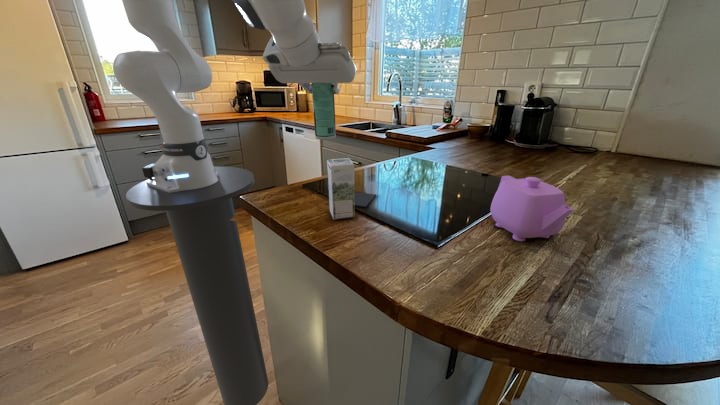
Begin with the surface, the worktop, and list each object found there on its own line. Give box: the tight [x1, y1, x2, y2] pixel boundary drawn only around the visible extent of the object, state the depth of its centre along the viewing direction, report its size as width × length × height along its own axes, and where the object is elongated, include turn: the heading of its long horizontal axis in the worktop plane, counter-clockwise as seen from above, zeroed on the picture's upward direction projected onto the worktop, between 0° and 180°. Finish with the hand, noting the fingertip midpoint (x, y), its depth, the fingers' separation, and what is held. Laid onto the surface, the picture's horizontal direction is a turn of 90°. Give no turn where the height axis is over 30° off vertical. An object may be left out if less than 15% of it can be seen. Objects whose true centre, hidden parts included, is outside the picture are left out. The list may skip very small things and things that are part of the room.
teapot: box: [489, 174, 574, 242], centre depth 66 cm, size 20×12×13 cm, turn 12°
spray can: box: [310, 83, 337, 141], centre depth 75 cm, size 6×6×20 cm
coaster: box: [354, 191, 377, 209], centre depth 86 cm, size 9×9×1 cm
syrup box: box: [326, 157, 356, 221], centre depth 75 cm, size 6×6×14 cm
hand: (324, 91), depth 75 cm, fingers closed on spray can, 5 cm apart
